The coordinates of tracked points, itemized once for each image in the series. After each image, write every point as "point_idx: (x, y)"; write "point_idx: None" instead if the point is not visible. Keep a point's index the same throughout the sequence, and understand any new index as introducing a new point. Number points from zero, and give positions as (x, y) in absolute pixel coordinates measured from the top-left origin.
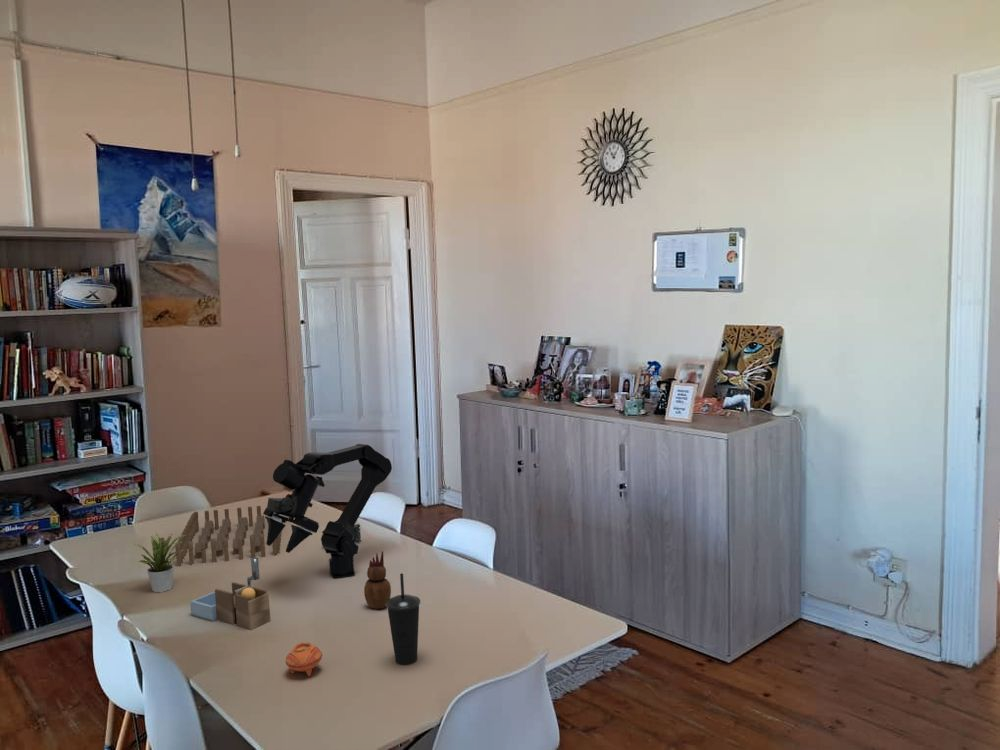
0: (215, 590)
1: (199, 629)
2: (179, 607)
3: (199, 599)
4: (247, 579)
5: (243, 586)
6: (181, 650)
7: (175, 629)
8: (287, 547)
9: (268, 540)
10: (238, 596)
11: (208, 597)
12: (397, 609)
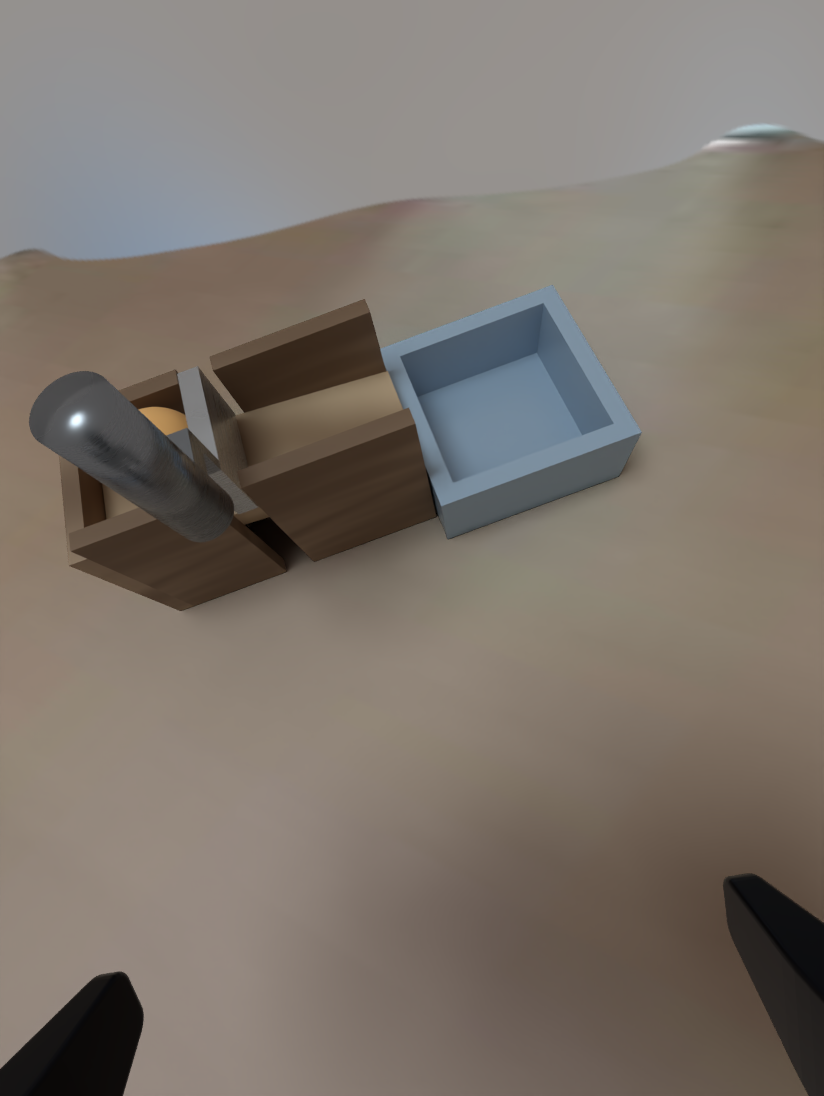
0: (357, 303)
1: None
2: (699, 319)
3: (556, 328)
4: (191, 435)
5: (282, 455)
6: (214, 263)
7: (426, 272)
8: (34, 1044)
9: (779, 949)
10: (142, 384)
11: (582, 382)
12: None
